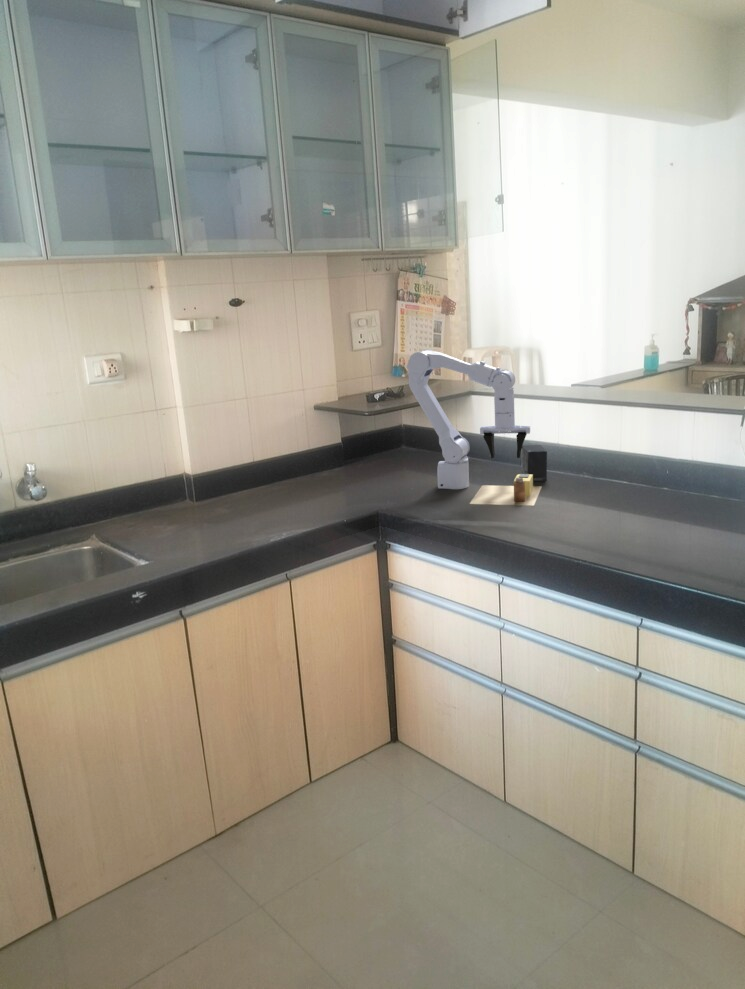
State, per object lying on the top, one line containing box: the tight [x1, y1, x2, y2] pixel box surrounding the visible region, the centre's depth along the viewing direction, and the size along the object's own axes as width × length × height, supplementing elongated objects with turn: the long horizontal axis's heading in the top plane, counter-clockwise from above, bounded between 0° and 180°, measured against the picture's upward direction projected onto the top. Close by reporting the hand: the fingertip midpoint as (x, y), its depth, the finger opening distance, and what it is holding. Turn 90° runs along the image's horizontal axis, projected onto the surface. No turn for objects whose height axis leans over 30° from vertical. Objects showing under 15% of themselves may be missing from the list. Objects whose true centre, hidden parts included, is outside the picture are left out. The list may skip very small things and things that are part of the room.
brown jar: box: [513, 477, 525, 502], centre depth 212 cm, size 3×3×6 cm
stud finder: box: [513, 473, 534, 496], centre depth 220 cm, size 4×8×5 cm, turn 162°
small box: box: [521, 444, 548, 482], centre depth 237 cm, size 11×6×10 cm, turn 179°
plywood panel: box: [469, 484, 543, 507], centre depth 220 cm, size 18×21×1 cm
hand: (505, 457), depth 225 cm, fingers open, 7 cm apart
